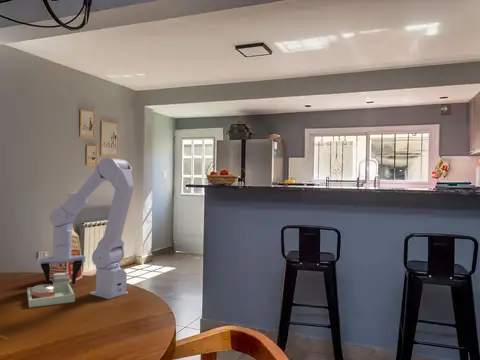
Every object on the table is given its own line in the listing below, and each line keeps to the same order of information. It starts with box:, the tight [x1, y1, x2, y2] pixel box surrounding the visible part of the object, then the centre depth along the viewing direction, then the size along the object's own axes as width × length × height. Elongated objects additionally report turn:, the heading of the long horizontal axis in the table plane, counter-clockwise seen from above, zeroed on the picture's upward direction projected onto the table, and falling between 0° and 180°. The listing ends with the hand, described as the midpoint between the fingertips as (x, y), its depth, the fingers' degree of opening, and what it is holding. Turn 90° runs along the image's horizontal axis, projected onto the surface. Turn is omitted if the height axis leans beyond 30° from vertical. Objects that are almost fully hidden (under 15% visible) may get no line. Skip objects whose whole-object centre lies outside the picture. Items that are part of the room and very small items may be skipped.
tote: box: [26, 283, 76, 308], centre depth 118 cm, size 14×12×2 cm
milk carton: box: [49, 227, 83, 283], centre depth 142 cm, size 9×9×20 cm
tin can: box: [32, 283, 55, 299], centre depth 115 cm, size 6×6×4 cm
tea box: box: [52, 272, 70, 285], centre depth 129 cm, size 5×5×5 cm
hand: (61, 284), depth 129 cm, fingers open, 7 cm apart
